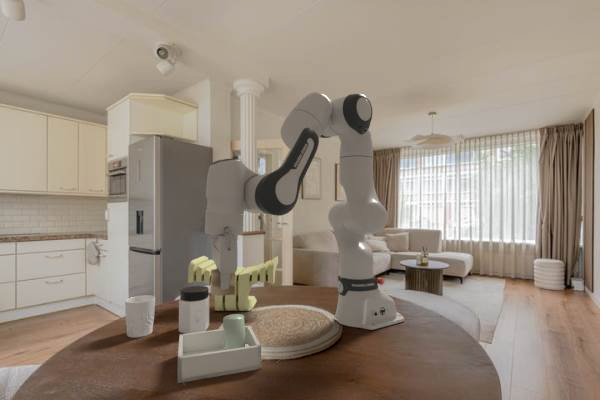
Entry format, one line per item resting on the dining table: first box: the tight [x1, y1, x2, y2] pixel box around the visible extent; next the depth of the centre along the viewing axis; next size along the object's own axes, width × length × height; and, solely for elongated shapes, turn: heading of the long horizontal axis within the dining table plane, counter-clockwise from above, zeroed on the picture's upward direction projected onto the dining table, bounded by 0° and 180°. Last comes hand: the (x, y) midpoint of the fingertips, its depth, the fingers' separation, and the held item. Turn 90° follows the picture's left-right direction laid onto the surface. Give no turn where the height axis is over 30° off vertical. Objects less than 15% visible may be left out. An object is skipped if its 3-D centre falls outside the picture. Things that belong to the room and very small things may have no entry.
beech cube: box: [210, 269, 235, 297], centre depth 73 cm, size 5×5×5 cm
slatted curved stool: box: [187, 255, 279, 312], centre depth 117 cm, size 30×16×18 cm, turn 88°
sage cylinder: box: [222, 313, 246, 350], centre depth 75 cm, size 5×5×9 cm
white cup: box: [124, 294, 156, 339], centre depth 91 cm, size 8×8×10 cm
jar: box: [178, 285, 210, 334], centre depth 95 cm, size 9×8×12 cm
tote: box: [177, 325, 262, 384], centre depth 74 cm, size 18×14×5 cm
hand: (222, 285), depth 73 cm, fingers closed on beech cube, 5 cm apart
